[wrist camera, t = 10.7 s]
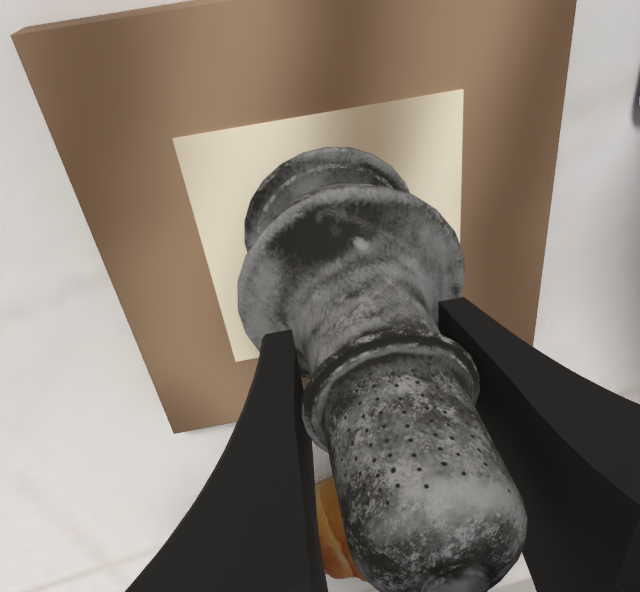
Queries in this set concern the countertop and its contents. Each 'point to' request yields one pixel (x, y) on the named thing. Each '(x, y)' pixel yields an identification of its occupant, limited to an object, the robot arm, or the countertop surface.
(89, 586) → the countertop surface
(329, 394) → the salt shaker
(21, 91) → the countertop surface
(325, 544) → the pastry
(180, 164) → the walnut board
